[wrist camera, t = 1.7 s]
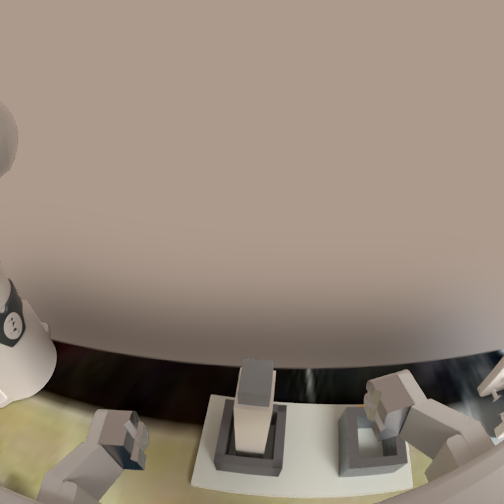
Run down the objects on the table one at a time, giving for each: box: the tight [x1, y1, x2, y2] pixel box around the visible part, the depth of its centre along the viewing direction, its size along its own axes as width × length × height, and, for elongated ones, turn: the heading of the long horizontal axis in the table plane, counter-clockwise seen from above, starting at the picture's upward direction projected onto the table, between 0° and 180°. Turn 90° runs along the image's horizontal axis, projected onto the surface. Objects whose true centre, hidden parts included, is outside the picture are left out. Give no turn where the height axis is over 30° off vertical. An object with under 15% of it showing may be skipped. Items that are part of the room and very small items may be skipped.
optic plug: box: [234, 358, 276, 459], centre depth 26 cm, size 3×4×16 cm
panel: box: [191, 394, 413, 498], centre depth 29 cm, size 26×13×5 cm, turn 84°
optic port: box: [338, 407, 408, 477], centre depth 29 cm, size 7×8×4 cm
